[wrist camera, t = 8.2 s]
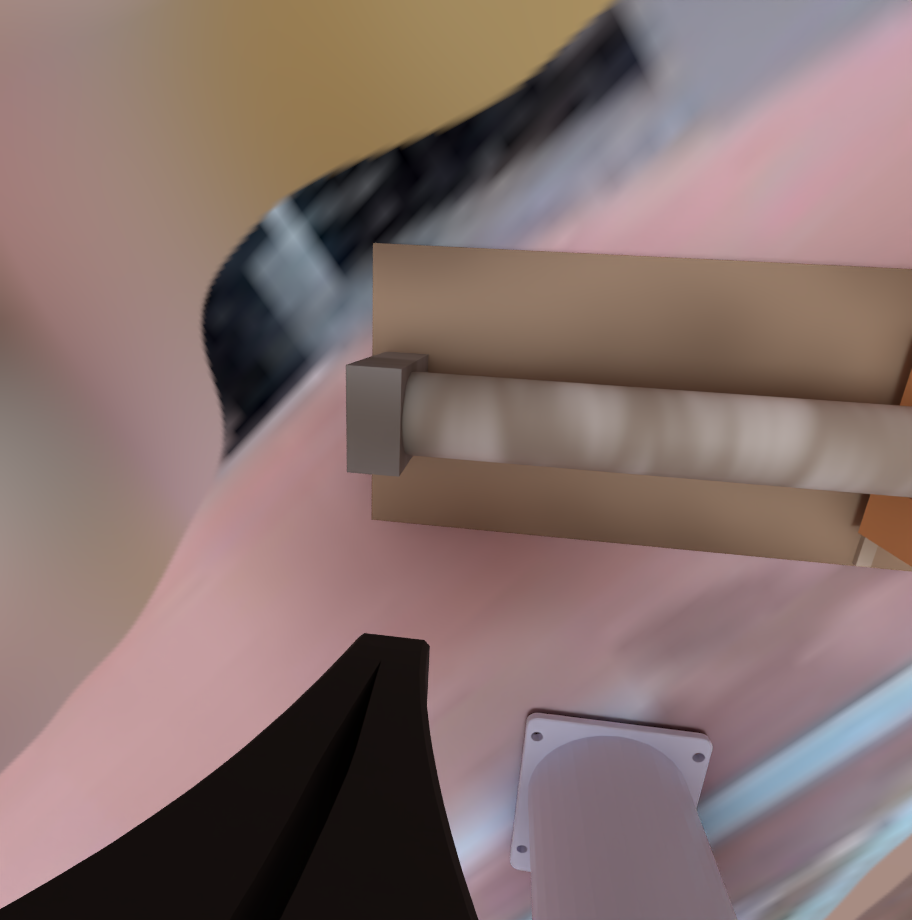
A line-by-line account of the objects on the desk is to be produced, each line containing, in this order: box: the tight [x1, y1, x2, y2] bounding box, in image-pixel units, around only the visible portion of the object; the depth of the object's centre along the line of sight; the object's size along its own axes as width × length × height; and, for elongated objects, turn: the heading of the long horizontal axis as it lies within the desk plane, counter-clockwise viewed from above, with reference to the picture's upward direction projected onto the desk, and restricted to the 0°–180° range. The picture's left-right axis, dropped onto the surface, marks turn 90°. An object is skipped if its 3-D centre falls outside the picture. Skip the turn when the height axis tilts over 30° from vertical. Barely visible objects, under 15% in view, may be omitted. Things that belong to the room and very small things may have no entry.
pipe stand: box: [346, 243, 912, 571], centre depth 15 cm, size 10×26×6 cm, turn 87°
